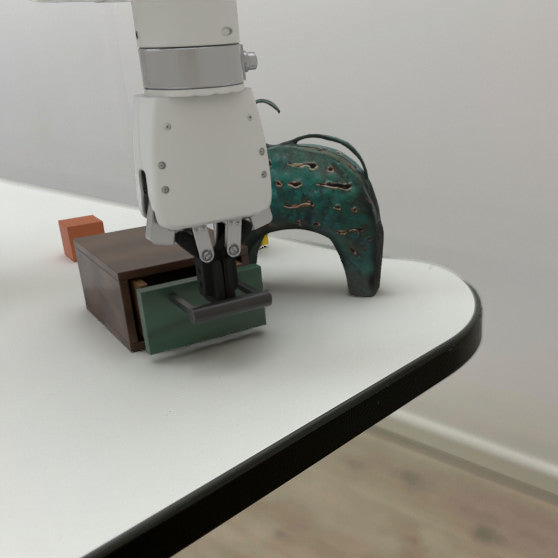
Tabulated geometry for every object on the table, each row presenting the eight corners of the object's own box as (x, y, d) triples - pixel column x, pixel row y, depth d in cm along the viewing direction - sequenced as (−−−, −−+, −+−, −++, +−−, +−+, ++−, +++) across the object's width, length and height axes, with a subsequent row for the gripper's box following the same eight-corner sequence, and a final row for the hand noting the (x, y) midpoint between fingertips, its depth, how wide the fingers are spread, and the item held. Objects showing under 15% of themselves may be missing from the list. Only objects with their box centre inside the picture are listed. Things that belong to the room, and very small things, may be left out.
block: (73, 262, 97) (66, 227, 95) (64, 254, 100) (57, 220, 99) (109, 255, 99) (102, 221, 97) (98, 247, 103) (92, 214, 101)
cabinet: (255, 320, 76) (247, 246, 73) (131, 352, 70) (117, 273, 67) (197, 283, 87) (189, 217, 84) (86, 308, 81) (72, 238, 78)
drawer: (299, 345, 68) (294, 282, 65) (177, 380, 62) (166, 313, 60) (209, 288, 83) (202, 235, 80) (104, 312, 77) (94, 256, 75)
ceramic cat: (201, 292, 84) (176, 102, 76) (225, 274, 90) (205, 95, 82) (376, 302, 79) (370, 100, 71) (390, 282, 85) (386, 93, 77)
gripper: (258, 63, 64) (276, 272, 72) (78, 77, 57) (120, 308, 65) (303, 67, 59) (317, 293, 66) (109, 83, 51) (151, 336, 59)
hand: (220, 300), depth 65 cm, fingers closed
